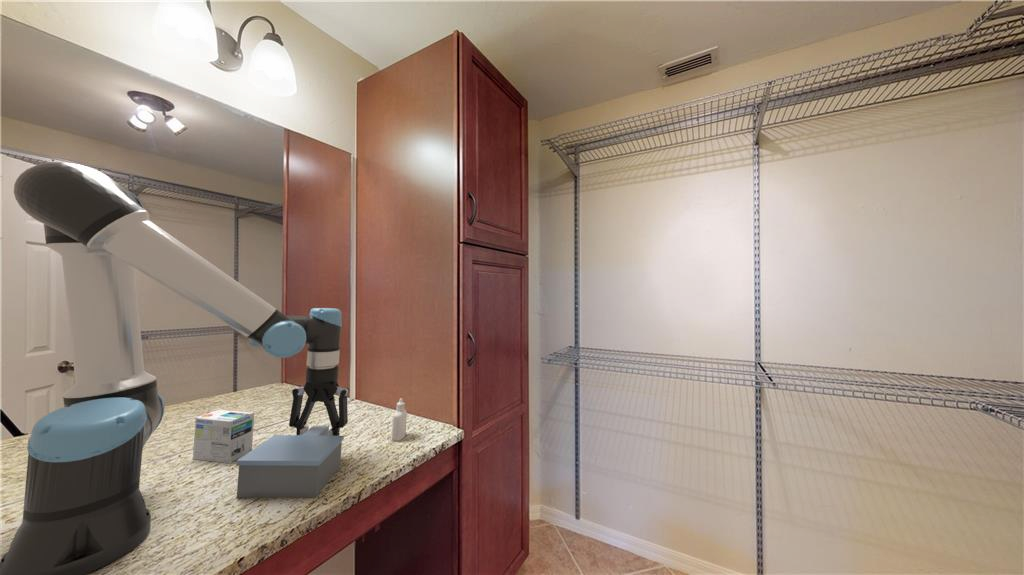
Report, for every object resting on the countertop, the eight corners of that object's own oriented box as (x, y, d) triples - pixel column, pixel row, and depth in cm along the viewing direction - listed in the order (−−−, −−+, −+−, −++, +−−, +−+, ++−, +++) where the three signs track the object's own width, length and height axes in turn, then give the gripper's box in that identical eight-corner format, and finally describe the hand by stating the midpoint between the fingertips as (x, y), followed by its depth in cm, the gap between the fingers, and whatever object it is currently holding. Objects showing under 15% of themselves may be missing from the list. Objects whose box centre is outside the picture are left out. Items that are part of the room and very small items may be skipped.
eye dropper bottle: (386, 438, 100) (388, 399, 100) (401, 432, 104) (404, 395, 105) (395, 442, 97) (397, 402, 98) (410, 436, 102) (412, 398, 102)
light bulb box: (253, 451, 88) (256, 411, 88) (228, 464, 81) (232, 421, 81) (217, 447, 89) (220, 408, 89) (190, 460, 82) (194, 417, 82)
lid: (236, 472, 68) (236, 460, 68) (288, 434, 87) (289, 425, 87) (318, 472, 70) (319, 461, 70) (352, 435, 88) (353, 426, 88)
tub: (236, 498, 69) (239, 464, 69) (272, 467, 80) (275, 439, 81) (315, 497, 70) (318, 464, 70) (340, 468, 82) (341, 440, 82)
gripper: (365, 364, 91) (360, 446, 91) (292, 361, 89) (286, 446, 89) (355, 370, 84) (349, 460, 83) (275, 367, 82) (268, 459, 81)
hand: (316, 452), depth 86 cm, fingers open, 6 cm apart
